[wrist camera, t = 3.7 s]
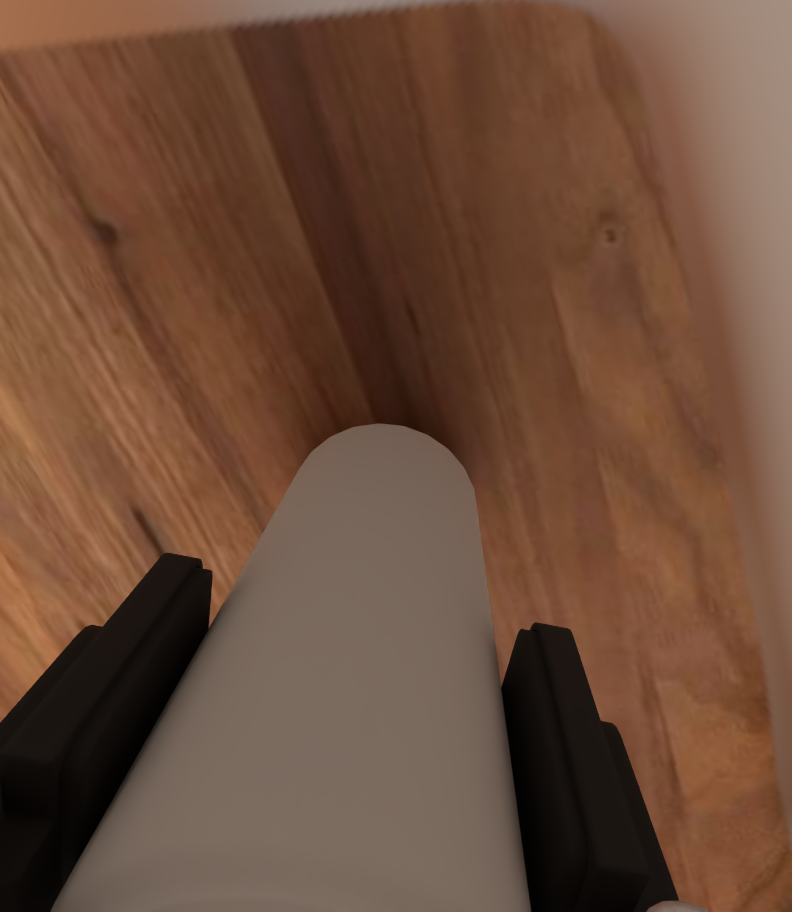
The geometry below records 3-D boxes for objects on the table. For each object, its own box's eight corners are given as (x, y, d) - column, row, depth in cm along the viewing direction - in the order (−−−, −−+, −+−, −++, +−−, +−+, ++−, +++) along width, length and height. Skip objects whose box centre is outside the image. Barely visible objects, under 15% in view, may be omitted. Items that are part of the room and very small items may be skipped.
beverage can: (498, 440, 15) (654, 1014, 4) (450, 597, 17) (471, 1297, 6) (311, 396, 15) (-29, 864, 4) (282, 558, 17) (-14, 1197, 6)
